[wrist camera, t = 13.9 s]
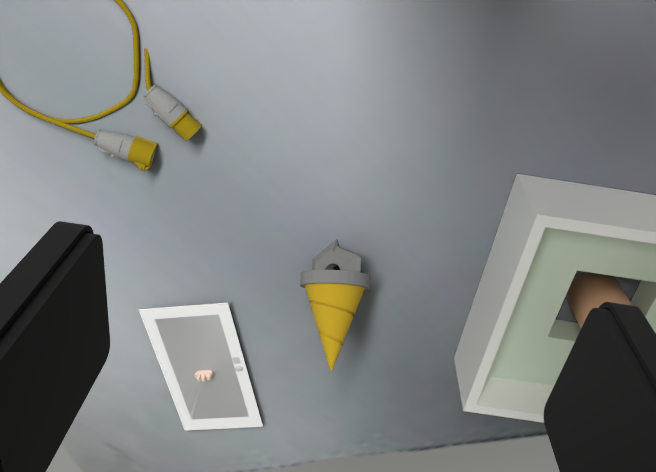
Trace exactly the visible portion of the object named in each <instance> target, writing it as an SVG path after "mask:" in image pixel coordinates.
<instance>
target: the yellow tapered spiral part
mask: <svg viewBox="0 0 656 472" xmlns="http://www.w3.org/2000/svg"><path fill="white" fill-rule="evenodd" d="M337 265H338V266H339V267H340V269H341V270H332V269H333V268H334V267H335V266H337ZM360 270H361V257H360V256H357V255H355V254H353V253H351V252H348V251H346V250H344V249H342V248H339V246H338V242H337V240H336V241H334V242H333V243H332V244H331V245H329V246H328V247H327V248H326V249H325V250H323V251H322V252H321V253H320V254H318V255H317V256H316V257H315V258H314V259H313V265H312V270H309V271H304V272H302V273H301V280H300V286H301V287H303V288H306V291H307V295H308V298H309V300H311V301H310V305H311V308H312V311H313V315H314V318H315V321H316V325H317V328H318V329H319V335H320V338H321V341H322V345H323V348H324V351H325V355H326V358H327V360H328V364H329V368H330V370H333V367H334V365H335V362H336V360H337V357H338V355H339V352H340V350H341V346H342V345H343V342H344V340H345V337H346V335H347V332H348V330H349V327H350V325H351V322H352V320H353V317H354V315H355V312H356V310H357V307H358V305H359V302H360V300H361V297H362V295H363V292H364V291H365V290H369V289H370V275H368V274H365V273H360Z"/></svg>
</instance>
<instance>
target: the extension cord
mask: <svg viewBox="0 0 656 472" xmlns="http://www.w3.org/2000/svg"><path fill="white" fill-rule="evenodd" d="M115 1H116V2H117V3H118V4H119V5H120V7H121V8H122V9H123V11H124V12H125V14H126V15H127V17H128V19H129V21H130V23H131V25H132V31H133V44H134V80H133V87H132V90H131V92H130V94H129V95H128V96H127V98H126V99H124V100H123V101H121V102H120V103H119V104H117V105H115V106H113V107H111V108H110V109H108V110H105V111H103V112H101V113H99V114H96V115H93V116H89V117H85V118H78V119H58V118H52V117H48V116H45V115H43V114H41V113H39V112H36V111H34V110H32V109H30V108H28V107H26V106H25V105H23V104H22V103H20V102H18V101H17V100H16V99H15V98H14V97H12V96H11V94H10V93H9V92H8V91H7V90H6V88H5V87H4V85H3V84H2V82H1V80H0V92H1V93H2V94H3V95H4V96H5V97H6V98H7V99H8V100H9V101H10V102H12V103H13V104H14V105H16V106H17V107H18V108H20V109H21V110H23V111H24V112H26V113H28V114H30V115H32V116H34V117H37V118H39V119H42V120H45V121H47V122H50V123H53V124H55V125H58V126H60V127H63V128H66V129H69V130H71V131H74V132H77V133H80V134H82V135H85V136H88V137H91V138H94V145H96V146H97V150H98V148H100V149H99V150H98V151H101V152H107V153H110V154H111V157H115V156H116V157H118V158H121V159H124V160H127V161H130V162H133V163H135V164H136V165H137V166H138V167H139V168H140V169H141V171H145V170H147V169H149V168H150V167H151V166H152V164H153V160H154V154H155V152H156V148H157V143H154V142H151V141H149V140H146V139H143V138H140V137H137V136H136V138H135V137H132V136H129V135H127V134H121V133H115V132H109V131H102V130H98V132H97V133H96V134H94V133H91V132H88V131H85V130H82V129H80V128H77V127H74V126H71V125H68V124H73V123H82V122H88V121H91V120H95V119H98V118H101V117H103V116H106V115H108V114H110V113H112V112H114V111H116V110H118V109H120V108H122V107H123V106H125V105H126V104H128V103H129V102H130V101H131V100H132V99H133V97H134V96H135V93H136V91H137V87H138V81H139V34H138V30H137V25H136V22H135V20H134V18H133V16H132V14H131V12H130V11H129V9H128V8H127V6H126V5H125V4H124V2H123V1H122V0H115ZM144 55H145V82H146V87H147V90H148V91H147V92H146V93H145V94H144V97H145V99H144V102H145V100H147V102H145V103H146V104H147V105H148V106H149V107H151V108H152V109H153V110H154V112H155V113H154V115H156V116H158V117H159V118H160V119H161V120H162V121H163V122H164V123H165V124H166V125H167V126H168V127H169V128H171V127H172V128H173V129H174V130H175V131H176V132H177V133H178V134H179V135H180V136H181V137H182V138H183V139H184V140H185V141H187V140H188V139H190V138H191V137H192V136H193V135H194V134H195V133H196V132H197V131H198V130H199V128H200V127H201V124H200V123H199V122H198V121H197V120H195V119H194V118H193V117H192V116H190V115H189V114H188V113H187V111H188V110H187V109H186V108H185V107H184V106H183V105H182V104H181V103H180V102H179V101H177V100H176V99H175V98H174V97H172V96H171V95H170V94H168V93H167V92H165V91H164V90H162V89H161V88H159V87H157V85H156V84H155V85H153V86H151V81H150V58H149V53H148V50H147V49H146V48H145V50H144Z"/></svg>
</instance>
